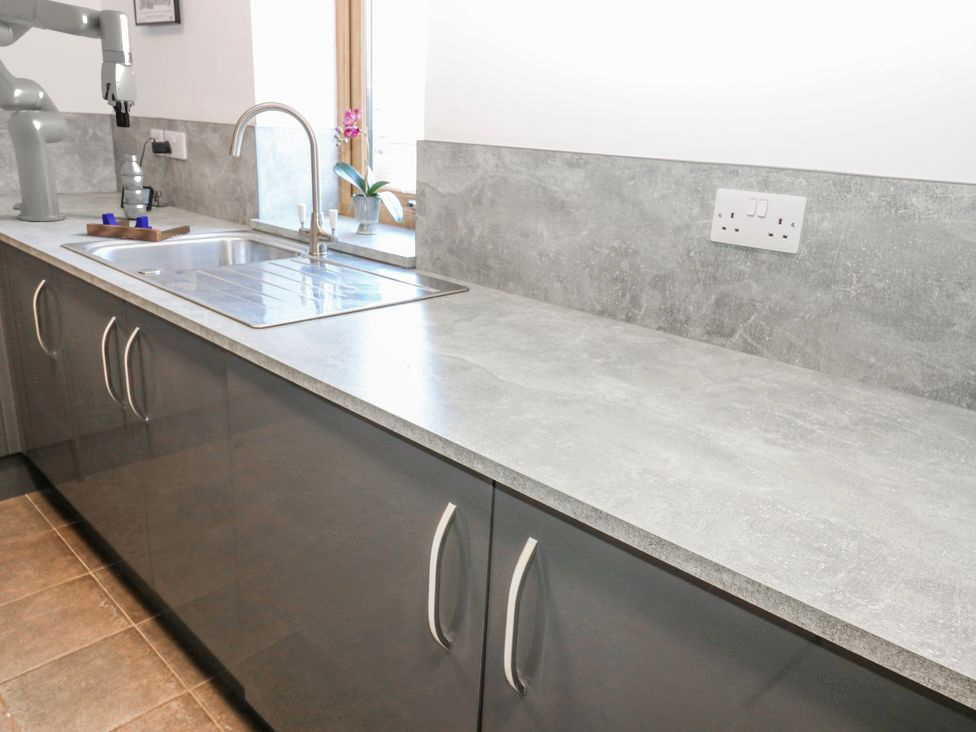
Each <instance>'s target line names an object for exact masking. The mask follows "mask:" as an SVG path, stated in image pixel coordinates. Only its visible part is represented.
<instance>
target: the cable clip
mask: <svg viewBox="0 0 976 732" xmlns="http://www.w3.org/2000/svg"><path fill="white" fill-rule="evenodd" d="M101 217H102V224H106V225H117V226H119V225H118V223H117V222H116V221H117V220H116V219H115V215H114V213H111V212H110V213H109V212H108V213H102V214H101ZM136 218H137V220H135V221H136V222H135V225H134V227H138V228H149V229H153V226H150V225H149V216H147V215H146V216H141V217H136Z"/></svg>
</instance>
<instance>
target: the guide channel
mask: <svg viewBox="0 0 976 732" xmlns="http://www.w3.org/2000/svg"><path fill="white" fill-rule="evenodd" d="M116 222H117V223H118V225H119V226H117V225H106V224H103V223H93V222H91V223H86V224H85V225H86V231H87V235H89V236H96V235H99V236H98V237H106V236H114V237H113V238H116V237H125V238H124V239H127V238H135V239H134V240H137V239H142V240H141V241H149V242H150V241H151V242H160V241H164V240H168V239H167V238H169V237H172V236H176V235H180V234H183V235H186V234H185V233H187V234H189V233H188V232H190V233H191V228H190V227H191V226H190V225H181V226H177V227H173V228H169V229H164V230H162V229H158V228H152V229H149V228H138V227H135V226H130V220H129V219H123V220H116ZM180 236H181V235H180ZM176 237H177V236H176ZM172 238H173V237H172ZM169 239H170V238H169Z"/></svg>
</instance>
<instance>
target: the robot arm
mask: <svg viewBox="0 0 976 732" xmlns="http://www.w3.org/2000/svg"><path fill="white" fill-rule="evenodd" d="M130 27H131V26H130V18H129V15H128V14H127V13H126V12H124V11H121V10H113V9H102V10H98V9H93V8H88V7H84V6H80V5H73V4H69V3H64V2H58V1H54V0H0V47H1V48H2V47H3V48H5V47H9V46H11V45H13V44H14V43H16V42H17V41H18V40H20V38H22V37H23V36H25V34H27V32H29V31H30V30H31V29H32V28H36V29H39V30H49V31H53V32H57V33H62V34H66V35H72V36H77V37H84V38H89V39H97V40H98V39H99V40H100V43H101V45H100V46H101V53H102V54H101V56H102V63H101V70H100V85H101V97H102V99H103V100H105V101H107V104H108V106H111V107H112V108H113V112H114V113H115V121H116V122H115V123H116V127H117V128H125V129H126V128H127V129H128V128H131V124H130V123H131V119H130V114H131V108H132V107H134V106H135V105H136V104H135V101H137V98H138V96H137V95H138V92H137V91H138V90H137V84H136V76H135V72H134V71H135V70H134V65H133V63H134V62H133V53H132V52H133V51H132V40H131V38H132V37H131V28H130ZM0 110H3V111H7V112H13V113H11V114H10V116H9V117H8V119H7V124H6V125H7V126H6V127H7V131H8V134H9V137H10V139H11V142H12V147H13V150H14V155H15V160H16V167H17V174H18V175H17V176H18V182H19V191H20V196H21V198H20V199H21V202H16V203H14V205H12V210H13V211H19V212H20V213H19V214H17V217H18V218H17V219H18V220H22V221H25V222H26V221H27V222H52V221H53V222H55V221H61V220H65V219H66V218H67V217H66V216H67V215H66V214H65V213H62V212H60V205H59V199H58V198H59V197H58V190H57V189H58V188H57V182H56V174H55V167H54V165H55V164H54V159H53V157H52V154H51V151H50V150H49V147H48V145H47V144H56V143H60V142H63V141H64V140H65V139H67V137H68V134H69V126H68V124H67V121H66V119H65V117H64V116H63V114H62V112H61V111H60V110H59V108H58V107H57V106H56V105H55V103H54V101H53V100H52V98H51V97H50V96H49V94H48V93H47V92H46V90H45V89H44V88H43V87H42V86H41V85H40V84H39V83H38V82H36V81H34V80H32V79H29V78H25V77H16V76H14V75H13V74H12V73H11V72H10V70H9V69H8V68H7V67H6V65H5V63H4V62H3V61H2V60H1V59H0Z"/></svg>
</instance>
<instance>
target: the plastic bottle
mask: <svg viewBox="0 0 976 732" xmlns="http://www.w3.org/2000/svg"><path fill="white" fill-rule="evenodd" d="M123 161H125V162H124V164H123V165H122V167H121V169H120V175H121V180H122V184H123V192H124V205H123V213H124V214H123V215H124V216H125V217H126V218H127V219H130V220H135V221H136V220H137V218H136V217H141V216H147V212H148V211H147V207H146V204H145V197H144V190H143V189H144V187H143V186H144V171H143V168H142V167H141V165H140V164H139V163H138V155H137V154H130V153H129V154H127V153H125V154H123Z"/></svg>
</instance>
